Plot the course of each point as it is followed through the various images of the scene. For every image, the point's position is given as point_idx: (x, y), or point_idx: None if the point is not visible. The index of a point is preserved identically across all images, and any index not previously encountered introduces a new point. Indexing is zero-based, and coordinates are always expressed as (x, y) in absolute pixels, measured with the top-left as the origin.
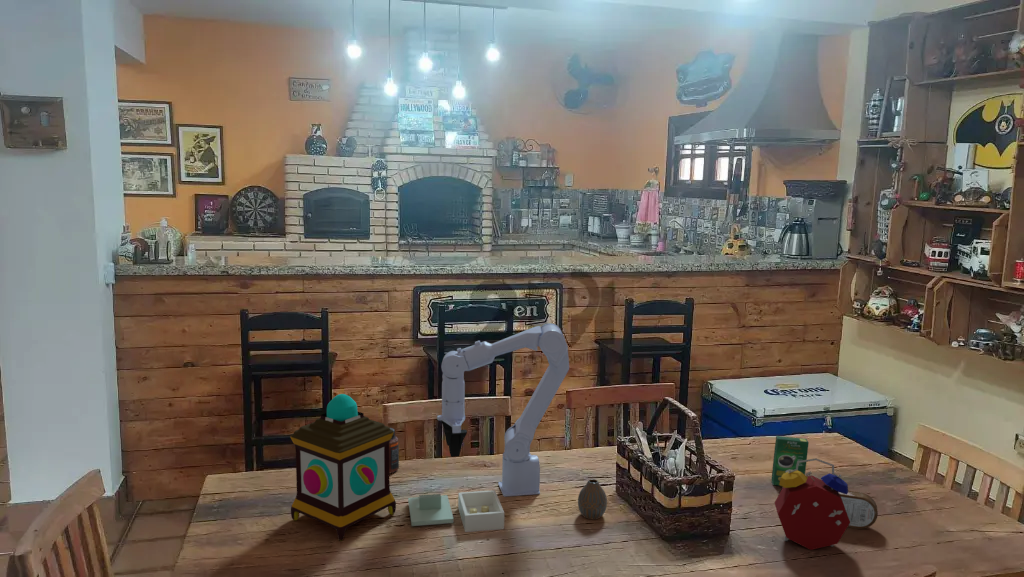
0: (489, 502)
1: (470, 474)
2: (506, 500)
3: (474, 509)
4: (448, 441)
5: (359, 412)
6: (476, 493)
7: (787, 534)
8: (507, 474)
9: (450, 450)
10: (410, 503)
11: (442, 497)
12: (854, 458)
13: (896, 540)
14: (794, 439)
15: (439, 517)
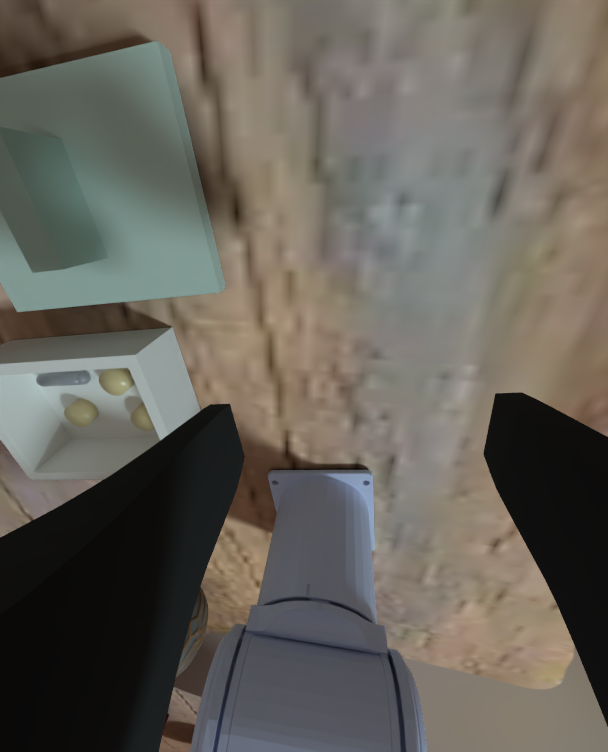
0: None
1: (492, 392)
2: (248, 471)
3: (116, 388)
4: (29, 525)
5: None
6: (153, 420)
7: None
8: (279, 541)
9: (168, 441)
10: (88, 69)
11: (191, 268)
12: None
13: (177, 743)
14: None
15: (3, 254)
